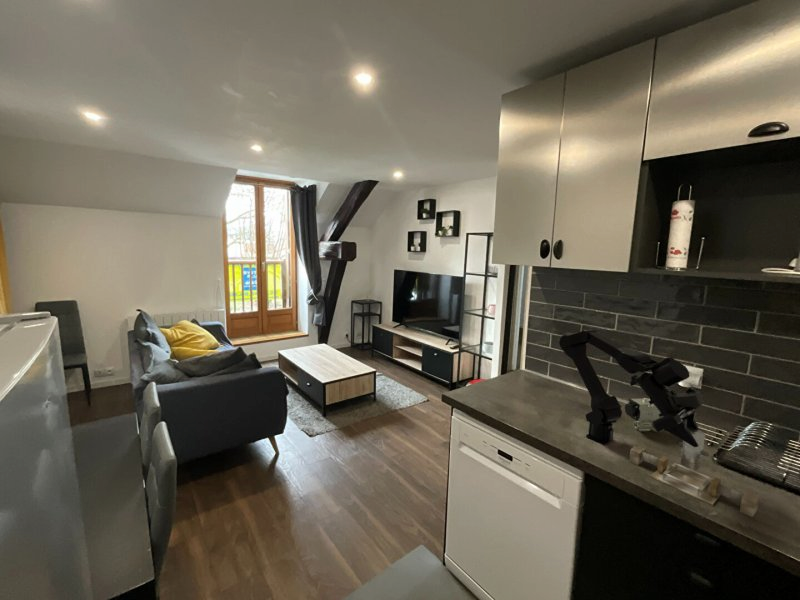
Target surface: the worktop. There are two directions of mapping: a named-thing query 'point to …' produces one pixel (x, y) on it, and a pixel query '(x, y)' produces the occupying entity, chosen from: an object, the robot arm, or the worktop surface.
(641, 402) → the pneumatic valve
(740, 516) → the worktop surface
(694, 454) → the ujoint coupling
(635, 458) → the shaft rig
